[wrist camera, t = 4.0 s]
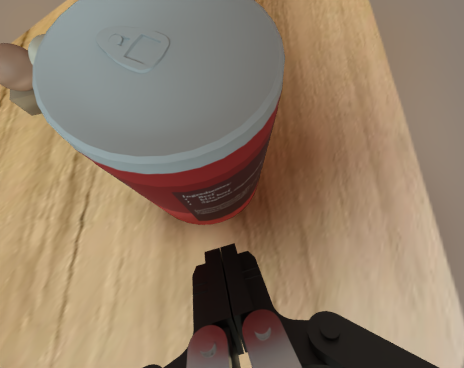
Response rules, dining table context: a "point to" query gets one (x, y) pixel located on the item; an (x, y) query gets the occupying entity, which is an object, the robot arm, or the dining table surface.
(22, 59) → the egg holder with eggs
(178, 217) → the canned food
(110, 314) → the dining table surface
